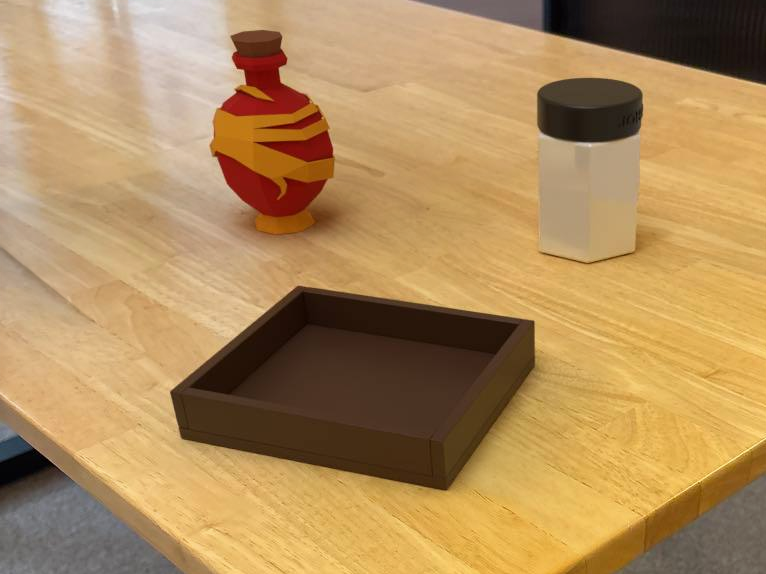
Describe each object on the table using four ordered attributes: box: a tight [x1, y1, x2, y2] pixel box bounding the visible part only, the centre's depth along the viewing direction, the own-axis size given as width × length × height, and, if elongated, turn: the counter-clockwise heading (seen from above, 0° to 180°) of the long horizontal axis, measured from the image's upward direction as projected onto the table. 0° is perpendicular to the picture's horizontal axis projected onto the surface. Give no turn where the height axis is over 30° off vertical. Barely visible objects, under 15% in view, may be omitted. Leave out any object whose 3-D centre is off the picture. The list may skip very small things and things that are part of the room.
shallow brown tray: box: [169, 285, 536, 491], centre depth 69 cm, size 18×16×3 cm
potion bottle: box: [208, 29, 336, 235], centre depth 89 cm, size 10×10×15 cm
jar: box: [536, 77, 644, 264], centre depth 86 cm, size 9×8×12 cm
